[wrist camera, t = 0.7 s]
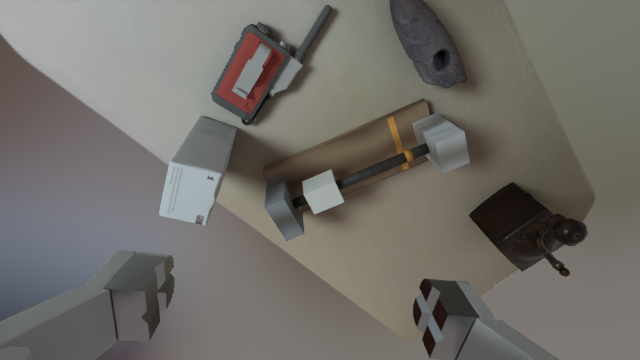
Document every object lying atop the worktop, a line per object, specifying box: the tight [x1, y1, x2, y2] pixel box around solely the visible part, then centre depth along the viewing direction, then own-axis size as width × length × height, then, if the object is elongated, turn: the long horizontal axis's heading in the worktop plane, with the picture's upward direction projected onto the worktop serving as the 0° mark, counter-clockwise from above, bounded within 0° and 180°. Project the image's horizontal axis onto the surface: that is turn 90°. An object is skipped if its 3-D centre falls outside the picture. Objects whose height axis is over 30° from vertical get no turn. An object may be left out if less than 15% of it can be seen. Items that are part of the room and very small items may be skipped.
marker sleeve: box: [302, 169, 344, 215], centre depth 47 cm, size 4×5×4 cm
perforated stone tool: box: [390, 0, 467, 88], centre depth 40 cm, size 15×5×7 cm, turn 37°
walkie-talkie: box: [211, 5, 332, 125], centre depth 41 cm, size 9×4×20 cm
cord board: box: [263, 99, 470, 241], centre depth 47 cm, size 10×29×10 cm, turn 113°
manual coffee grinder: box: [469, 183, 588, 277], centre depth 52 cm, size 16×11×18 cm
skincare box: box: [159, 116, 237, 225], centre depth 41 cm, size 8×6×15 cm
